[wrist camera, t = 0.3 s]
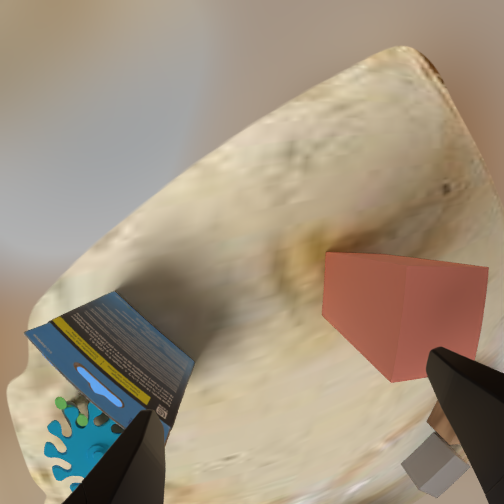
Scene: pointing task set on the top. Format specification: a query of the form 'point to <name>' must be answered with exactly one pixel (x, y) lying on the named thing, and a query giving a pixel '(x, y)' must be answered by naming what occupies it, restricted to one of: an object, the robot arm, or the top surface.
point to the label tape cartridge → (116, 360)
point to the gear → (79, 440)
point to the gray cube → (434, 466)
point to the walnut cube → (442, 425)
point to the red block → (404, 308)
